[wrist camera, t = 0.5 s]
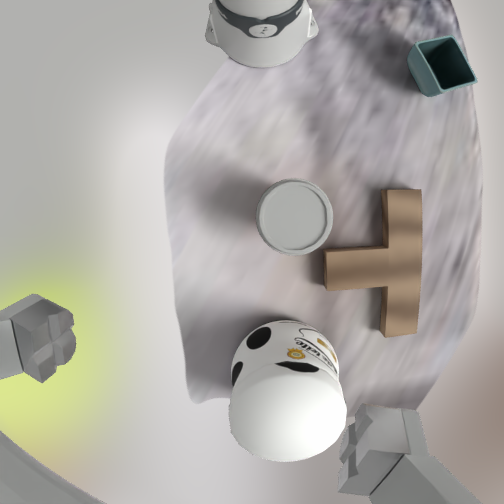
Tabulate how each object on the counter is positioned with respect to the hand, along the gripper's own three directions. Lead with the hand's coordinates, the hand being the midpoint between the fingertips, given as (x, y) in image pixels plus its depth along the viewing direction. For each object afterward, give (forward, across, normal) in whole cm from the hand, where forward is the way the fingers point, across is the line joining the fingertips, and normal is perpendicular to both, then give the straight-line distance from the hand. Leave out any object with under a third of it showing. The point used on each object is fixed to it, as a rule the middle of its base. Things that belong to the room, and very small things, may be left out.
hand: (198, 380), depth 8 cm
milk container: (+42, -3, +28) cm, 50 cm away
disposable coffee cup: (+44, +2, +3) cm, 44 cm away
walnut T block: (+45, -13, +8) cm, 48 cm away
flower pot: (+50, -16, -26) cm, 59 cm away
